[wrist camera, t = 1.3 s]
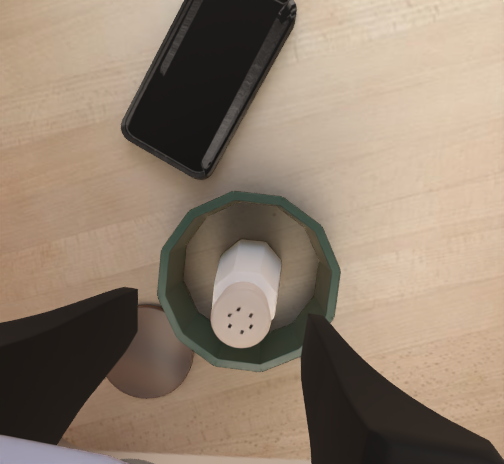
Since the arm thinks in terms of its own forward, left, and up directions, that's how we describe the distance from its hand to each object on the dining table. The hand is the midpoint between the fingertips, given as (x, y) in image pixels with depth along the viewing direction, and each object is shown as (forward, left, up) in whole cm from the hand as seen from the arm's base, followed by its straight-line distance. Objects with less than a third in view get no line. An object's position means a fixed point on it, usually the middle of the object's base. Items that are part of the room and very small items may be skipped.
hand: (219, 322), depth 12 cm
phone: (+15, +4, -12) cm, 20 cm away
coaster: (-8, +7, -12) cm, 16 cm away
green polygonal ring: (0, -1, -12) cm, 12 cm away
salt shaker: (0, -1, -12) cm, 12 cm away
